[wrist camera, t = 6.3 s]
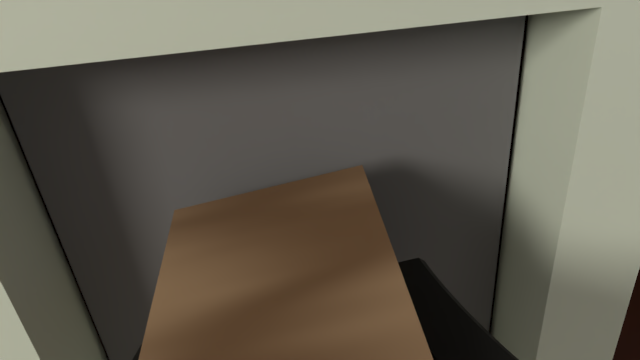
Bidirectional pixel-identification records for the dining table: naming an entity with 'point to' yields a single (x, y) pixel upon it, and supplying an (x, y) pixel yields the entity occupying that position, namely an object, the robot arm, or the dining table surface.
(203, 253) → the walnut block
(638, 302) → the dining table surface
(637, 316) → the dining table surface
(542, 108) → the board
